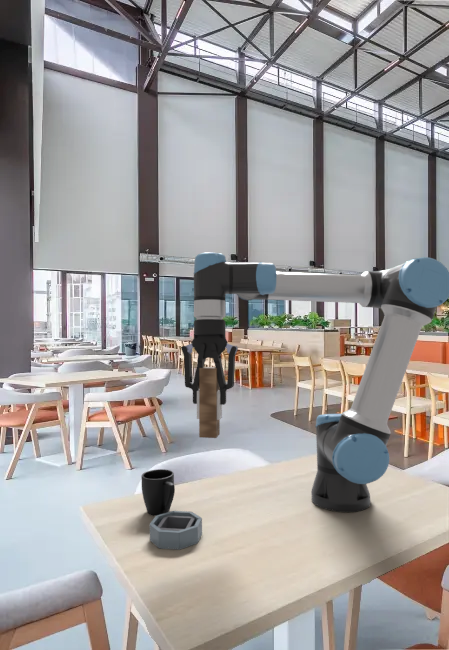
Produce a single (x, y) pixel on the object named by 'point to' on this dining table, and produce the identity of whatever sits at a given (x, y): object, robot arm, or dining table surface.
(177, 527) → the octagonal peg hole ring
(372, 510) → the dining table surface
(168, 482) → the mug
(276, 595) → the dining table surface
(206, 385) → the wooden post
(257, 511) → the dining table surface
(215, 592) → the dining table surface
